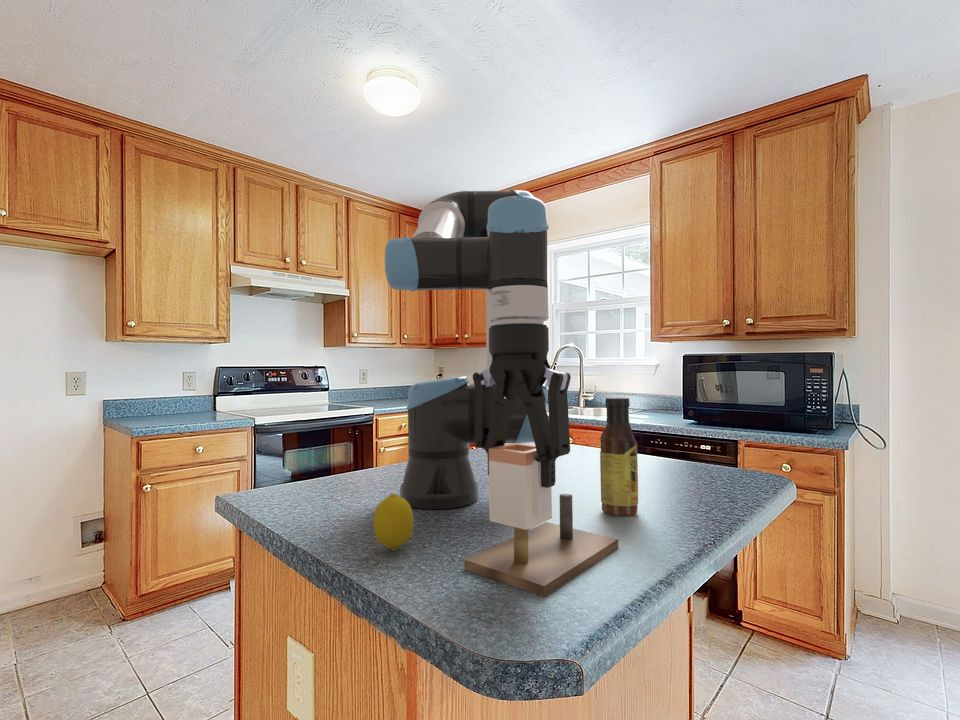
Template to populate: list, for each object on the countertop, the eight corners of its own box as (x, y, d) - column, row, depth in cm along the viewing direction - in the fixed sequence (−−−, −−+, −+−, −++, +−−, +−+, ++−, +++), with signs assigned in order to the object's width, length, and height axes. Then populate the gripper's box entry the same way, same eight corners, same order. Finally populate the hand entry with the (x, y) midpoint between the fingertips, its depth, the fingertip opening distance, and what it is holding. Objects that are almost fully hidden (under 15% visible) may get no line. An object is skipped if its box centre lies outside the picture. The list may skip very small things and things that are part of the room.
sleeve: (489, 520, 63) (488, 448, 63) (515, 510, 67) (515, 442, 67) (526, 529, 59) (525, 453, 59) (551, 518, 63) (551, 447, 63)
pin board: (464, 569, 64) (463, 512, 64) (546, 529, 78) (545, 483, 79) (544, 596, 56) (543, 532, 56) (618, 547, 71) (617, 496, 71)
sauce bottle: (640, 519, 83) (638, 399, 83) (601, 517, 85) (600, 399, 85) (636, 507, 90) (634, 396, 90) (600, 506, 91) (598, 396, 91)
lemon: (376, 544, 73) (375, 489, 73) (414, 542, 74) (414, 488, 74) (371, 559, 68) (370, 499, 68) (412, 557, 68) (412, 498, 68)
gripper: (444, 326, 66) (446, 502, 66) (567, 316, 54) (570, 531, 54) (481, 329, 72) (483, 491, 72) (600, 320, 60) (602, 515, 60)
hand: (520, 508), depth 63 cm, fingers closed on sleeve, 6 cm apart
